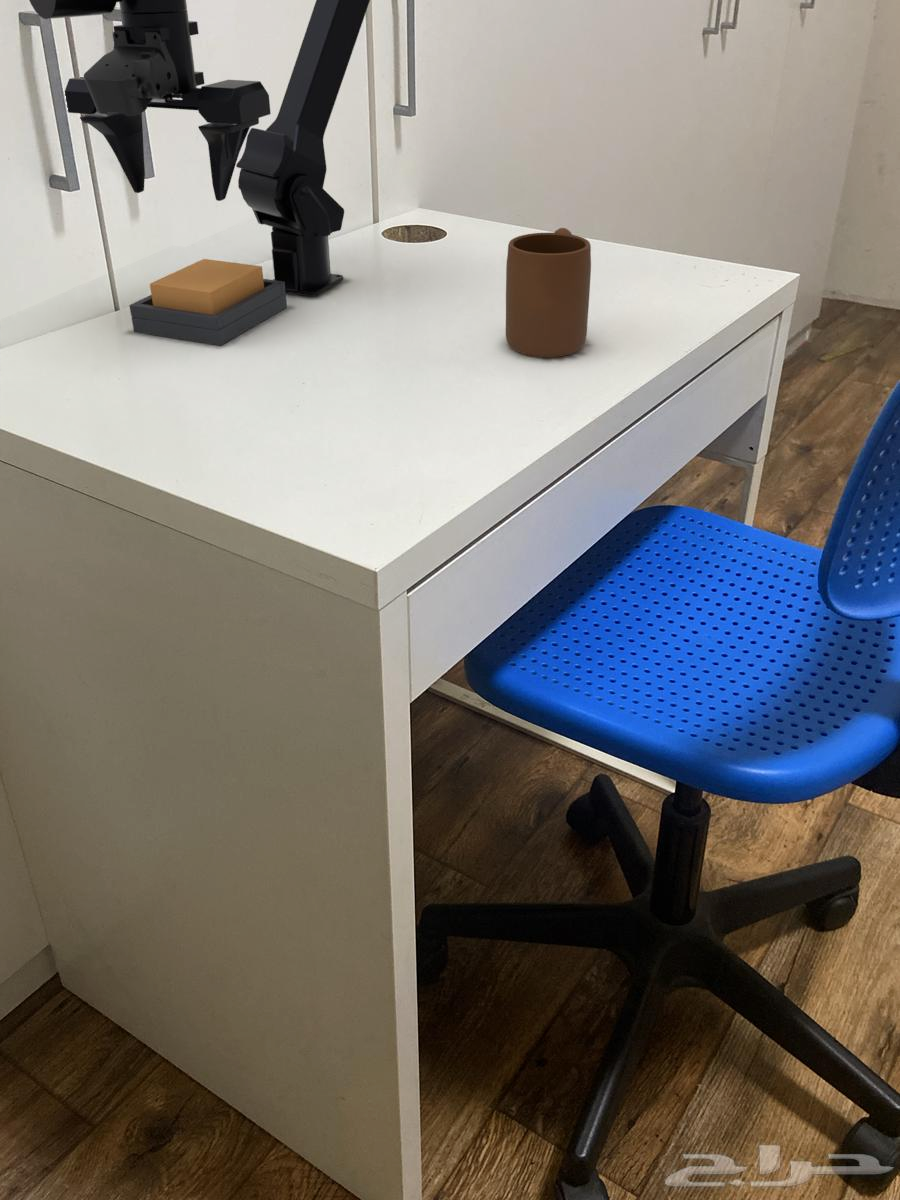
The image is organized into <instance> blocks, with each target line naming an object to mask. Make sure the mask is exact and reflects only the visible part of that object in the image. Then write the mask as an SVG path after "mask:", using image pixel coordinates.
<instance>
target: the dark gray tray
mask: <svg viewBox="0 0 900 1200" xmlns="http://www.w3.org/2000/svg"><path fill="white" fill-rule="evenodd" d="M263 281H264V289H262V290H260V291H258V292H256V293H254V294H252V295H251V296H249V297H247V298H245V299H243V300H241V301H239V302H237V303H236V304H234V305H232V306H230V307H228V308H226V309H224V310H223V311H221V312H219V313H217V314H215V315H213V314H206V313H199V312H193V311H186V310H179V309H172V308H166V307H159V306H153V301H152V295H151V294H150V295H147V296H145V297H144V298H141V299H139V300H137V301H135V302H133V303H131V304H129V311H130V317H131V323H132V329H133V332H134V333H138V334H144V335H150V336H151V335H152V336H157V337H164V338H170V339H176V340H182V341H188V342H195V343H202V344H206V345H207V344H208V345H214V346H221V347H222V346H223V345H225V344H226V343H228V342H230V341H231V340H233V339H235V338H236V337H239V336H240V335H242V334H243V333H245V332H247V331H248V330H250V329H252V328H255V326H257V325H259V324H260V323H262V322H264V321H266V320H268V319H269V318H271V317H272V316H275V315H276V314H278V313H280V312H282V311H283V310H285V309H286V308H288V305H287V294H286V292H285V282H284V281H276V280H273V279H269V278H263Z"/></svg>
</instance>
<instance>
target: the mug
mask: <svg viewBox="0 0 900 1200" xmlns="http://www.w3.org/2000/svg"><path fill="white" fill-rule="evenodd" d="M505 273H506V274H505V339H506V343H507V344H508V346H509V347H510V348H511V349H512V350H513V351H515V352H517V353H519V354H522V355H525V356H530V357H535V358H536V357H538V358H557V357H563V356H568V355H572V354H574V353H576V352H578V351H579V350H581V349H582V348H583V347H584V345H585V343H586V341H587V335H588V320H589V307H590V293H591V274H592V245H591V242H590V241H589V240H588V239H587V238H584V237H582V236H579V235H575V234H572V232H571V231H570V230H569V229H568V228H565V227H559V228H558V229H556V230H555V231H554V232H534V233H527V234H522V235H518V236H516V237H513V238H512V239H511V240H509V242H508V245H507V257H506V268H505Z"/></svg>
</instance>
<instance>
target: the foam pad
mask: <svg viewBox="0 0 900 1200" xmlns="http://www.w3.org/2000/svg"><path fill="white" fill-rule="evenodd" d="M263 279H264V274H263V266H262V265H256V264H248V263H247V264H246V263H241V262H231V261H223V260H216V259H208V258H202V259H200V260H198V261H195V262H194V263H192V264H190V265H188V266H185V267H183V268H181V269H178V270H176V271H174V272H171V273H170V274H168V275H165V276H163V277H161V278H159V279H156V280H154V281H153V282H150V283H149V289H150V293H151V294H150V295H152V301H153V306H159V307H166V308H172V309H179V310H186V311H193V312H199V313H206V314H213V315H215V314H217V313H219V312H221V311H223V310H224V309H226V308H228V307H230V306H232V305H234V304H236V303H237V302H239V301H241V300H243V299H245V298H247V297H249V296H251V295H252V294H254V293H256V292H258V291H260V290H262V289H264V281H263Z"/></svg>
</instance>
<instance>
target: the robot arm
mask: <svg viewBox="0 0 900 1200" xmlns="http://www.w3.org/2000/svg"><path fill="white" fill-rule="evenodd" d="M370 2H371V0H315V3H314V5H313V9H312V12H311V15H310V18H309V21H308V24H307V26H306V30H305V32H304V36H303V39H302V42H301V44H300V48H299V51H298V54H297V57H296V60H295V63H294V65H293V69H292V71H291V75H290V77H289V80H288V83H287V87H286V91H285V92H284V95H283V99H282V101H281V105H280V107H279V111H278V114H277V115H276V118H275V119H274V121H272V123H271V124H270V125H269V126H268V127H266V129H260V128H256V127H254V126H257V125H259V124H260V119H261V118H263V117H267V116H270V115H271V104H270V94H269V93H268V91H267V90H266V88H265V86H264V84H263V83H262V82H261V81H258V80H242V79H226V80H222V81H221V80H220V81H218V82H214V83H210V84H205V77H204V71H196V70H195V61H194V55H193V54H194V53H193V46H192V37H191V36H194V35H195V36H196V35H199V34H200V33H199V26H198V25H199V24H198V21H193V20H191V21H190V20H189V12H188V5H187V4H188V3H187V0H29V3H30V5H31V7H32V8H33V10H34V11H35V13H36V14H37V15H38V16H39V17H40V18H42V19H44V20H53V19H63V18H78V17H90V16H91V17H92V16H103V15H109V14H111V13H113V11H114V10H115V8H116V6H117V4H118V3H119V9H120V10H119V11H120V17H121V24H119V25H113V32H112V40H113V49H112V50H111V51H110V52H107V53H106V54H104V55H103V56H102V57H101V58H99V59H98V60H97V61H96V62H95V63H94V64H93V65H92V66H91V67H90V68H88V69H87V71H85V72H84V74H83V76H84V77H80V76H79V77H80V78H75V77H71V78H69V79H68V81H67V83H66V87H65V88H64V92H65V94H64V97H65V96H66V99H65V103H66V102H67V105H66V109H67V108H68V110H67V113H69V114H83V115H82V116H79V120H80V121H81V122H82V123H83V124H88V125H90V126H91V127H93V128H94V129H95V130H96V131H98V132H99V133H100V134H101V135H103V137H104V138H105V140H106V142H107V143H108V145H109V147H110V148H111V150H112V152H113V153H114V156H115V157H116V159H117V162H118V163H119V165H120V167H121V169H122V171H123V173H124V175H125V177H126V179H127V181H128V182H129V185H130V186H131V188H132V190H133V192H134V193H135V194H140V193H143V192H144V191H145V181H146V180H145V179H146V178H145V177H146V171H145V169H146V168H145V149H144V147H145V146H144V133H143V132H144V127H143V126H144V125H143V113H144V112H145V111H147V109H148V108H154V109H155V108H156V109H169V110H183V111H184V110H186V111H198V114H199V115H200V116H201V117H202V118H203V119H204V120H205V122H206V123H205V124H202V125H199V126H198V129H199V131H200V133H201V134H202V136H203V137H204V139H205V141H206V142H207V146H208V148H207V149H208V157H209V165H210V174H211V181H212V183H211V184H212V189H213V194H214V197H215V200H216V201H217V202H221V201H224V200H225V199H226V198H227V195H228V191H229V188H230V185H231V181H232V178H233V175H234V171H235V167H236V168H237V169H240V171H239V174H238V175H239V176H238V180H237V181H238V182H237V184H238V185H237V186H238V189H239V190H240V193H241V196H242V199H243V201H244V202H245V203H246V205H247V206H248V207H249V208H251V209H252V212H253V214H254V216H255V219H256V222H257V224H259V225H265V226H269V227H271V232H270V239H271V246H272V247H271V256H272V267H273V276H274V279H272V280H276V281H284V282H285V293H288V294H294V295H295V294H296V295H302V296H310V297H317V296H319V295H320V294H322V293H324V292H326V291H328V290H329V289H330V288H332V287H334V286H336V285H337V284H339V283H341V282H342V281H344V275H343V274H336V273H332V271H331V259H330V244H329V236H331V235H332V234H333V233H335V232H340V231H341V230H342V227H343V222H344V216H345V209H344V207H342V206H341V204H339V203H338V201H337V200H335V199H334V198H333V197H332V196H331V194H329V193H328V191H326V190H325V189H324V184H325V179H326V175H327V161H326V160H327V159H326V152H325V144H324V137H325V134H326V130H327V127H328V124H329V122H330V119H331V115H332V113H333V110H334V108H335V105H336V101H337V98H338V96H339V93H340V89H341V87H342V83H343V80H344V78H345V75H346V72H347V69H348V66H349V63H350V61H351V57H352V55H353V52H354V49H355V46H356V42H357V40H358V37H359V35H360V31H361V28H362V25H363V22H364V19H365V16H366V13H367V11H368V8H369V4H370ZM201 85H202V86H201ZM198 86H201V87H198ZM245 140H246V142H245ZM244 142H245V147H244V151H243V154H242V156H241V158H240V159H239V155H240V153H241V150H242V147H243V145H244ZM238 159H239V160H238ZM237 161H238V162H237Z"/></svg>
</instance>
